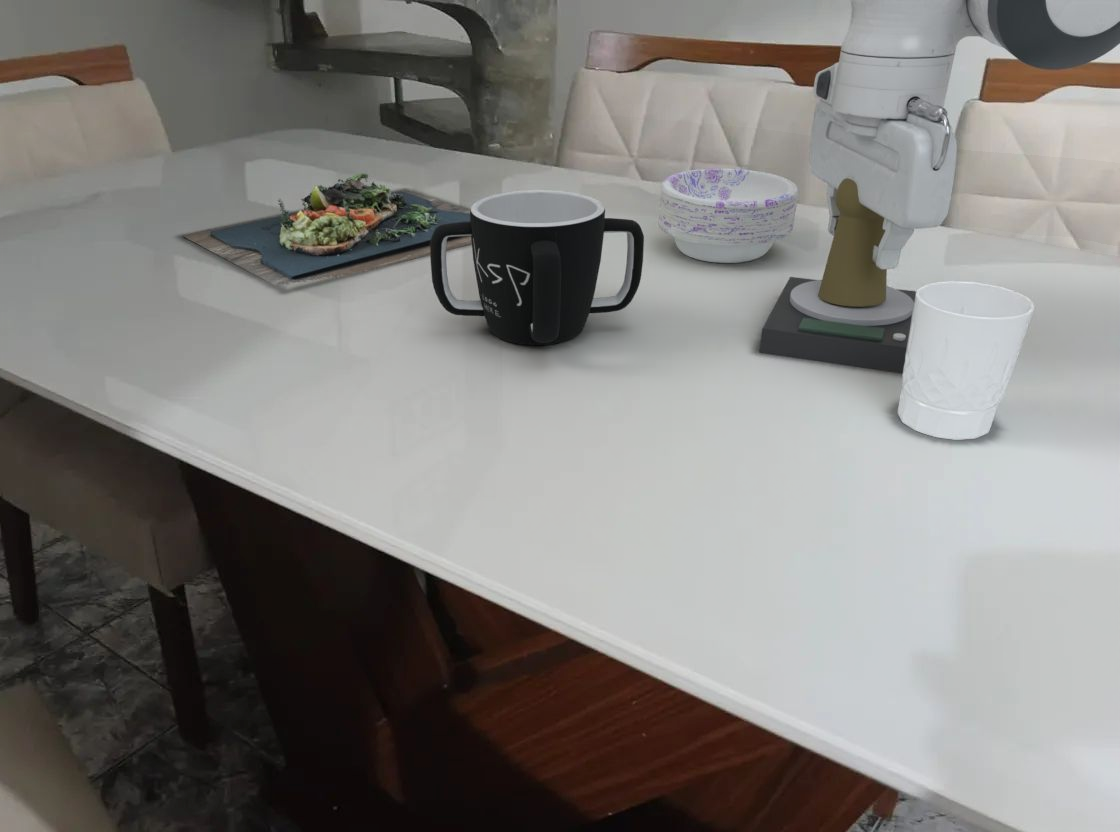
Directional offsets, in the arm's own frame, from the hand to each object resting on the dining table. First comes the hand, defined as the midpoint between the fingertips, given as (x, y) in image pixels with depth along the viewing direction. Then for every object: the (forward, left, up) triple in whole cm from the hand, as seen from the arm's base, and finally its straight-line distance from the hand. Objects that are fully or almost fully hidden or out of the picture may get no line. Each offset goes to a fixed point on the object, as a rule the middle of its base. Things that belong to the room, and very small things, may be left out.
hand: (860, 250), depth 88 cm
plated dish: (+53, -31, -8) cm, 62 cm away
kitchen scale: (0, +1, -8) cm, 8 cm away
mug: (+29, +1, -8) cm, 31 cm away
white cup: (-3, +19, -8) cm, 21 cm away
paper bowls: (+8, -24, -8) cm, 26 cm away
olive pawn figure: (0, 0, -5) cm, 5 cm away
